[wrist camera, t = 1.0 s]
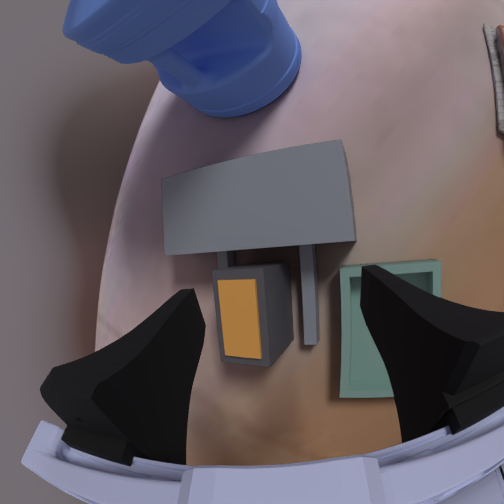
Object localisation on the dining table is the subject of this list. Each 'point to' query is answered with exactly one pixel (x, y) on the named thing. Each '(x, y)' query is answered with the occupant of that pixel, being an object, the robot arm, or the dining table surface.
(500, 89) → the packaged product
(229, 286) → the grey block orange panel
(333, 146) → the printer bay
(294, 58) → the water jug
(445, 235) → the dining table surface
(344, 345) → the tray
